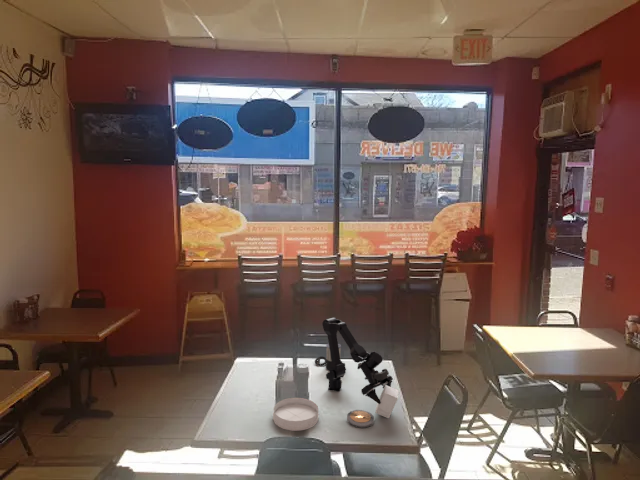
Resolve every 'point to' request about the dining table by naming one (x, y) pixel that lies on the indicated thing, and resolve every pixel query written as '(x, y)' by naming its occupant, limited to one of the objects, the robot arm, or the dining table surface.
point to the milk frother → (327, 358)
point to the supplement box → (387, 401)
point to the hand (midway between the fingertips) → (386, 400)
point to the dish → (295, 414)
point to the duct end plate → (360, 418)
